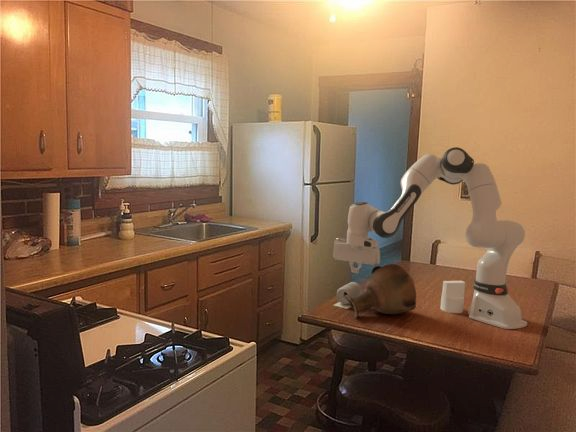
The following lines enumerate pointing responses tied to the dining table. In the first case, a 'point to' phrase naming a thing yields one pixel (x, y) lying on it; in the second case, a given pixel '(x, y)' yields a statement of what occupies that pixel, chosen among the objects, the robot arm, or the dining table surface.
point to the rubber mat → (342, 305)
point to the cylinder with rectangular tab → (453, 296)
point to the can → (349, 292)
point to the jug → (386, 291)
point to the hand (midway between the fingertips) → (355, 272)
